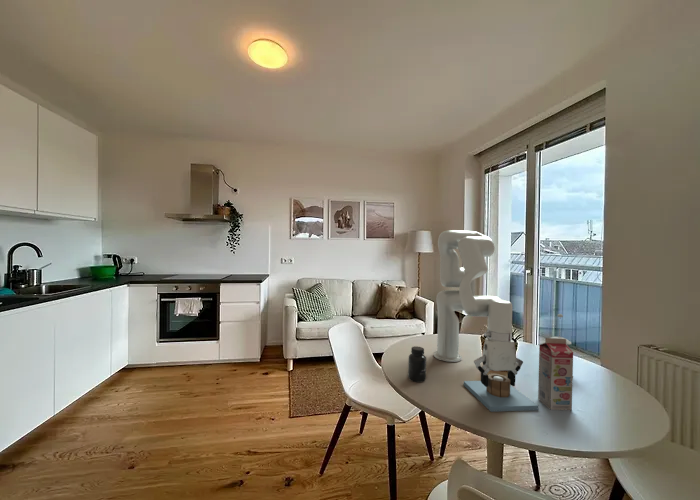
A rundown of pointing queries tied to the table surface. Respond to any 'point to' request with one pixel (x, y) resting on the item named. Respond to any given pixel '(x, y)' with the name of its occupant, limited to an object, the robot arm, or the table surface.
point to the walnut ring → (498, 386)
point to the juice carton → (555, 374)
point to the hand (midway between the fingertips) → (497, 384)
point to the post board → (500, 398)
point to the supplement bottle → (417, 365)
